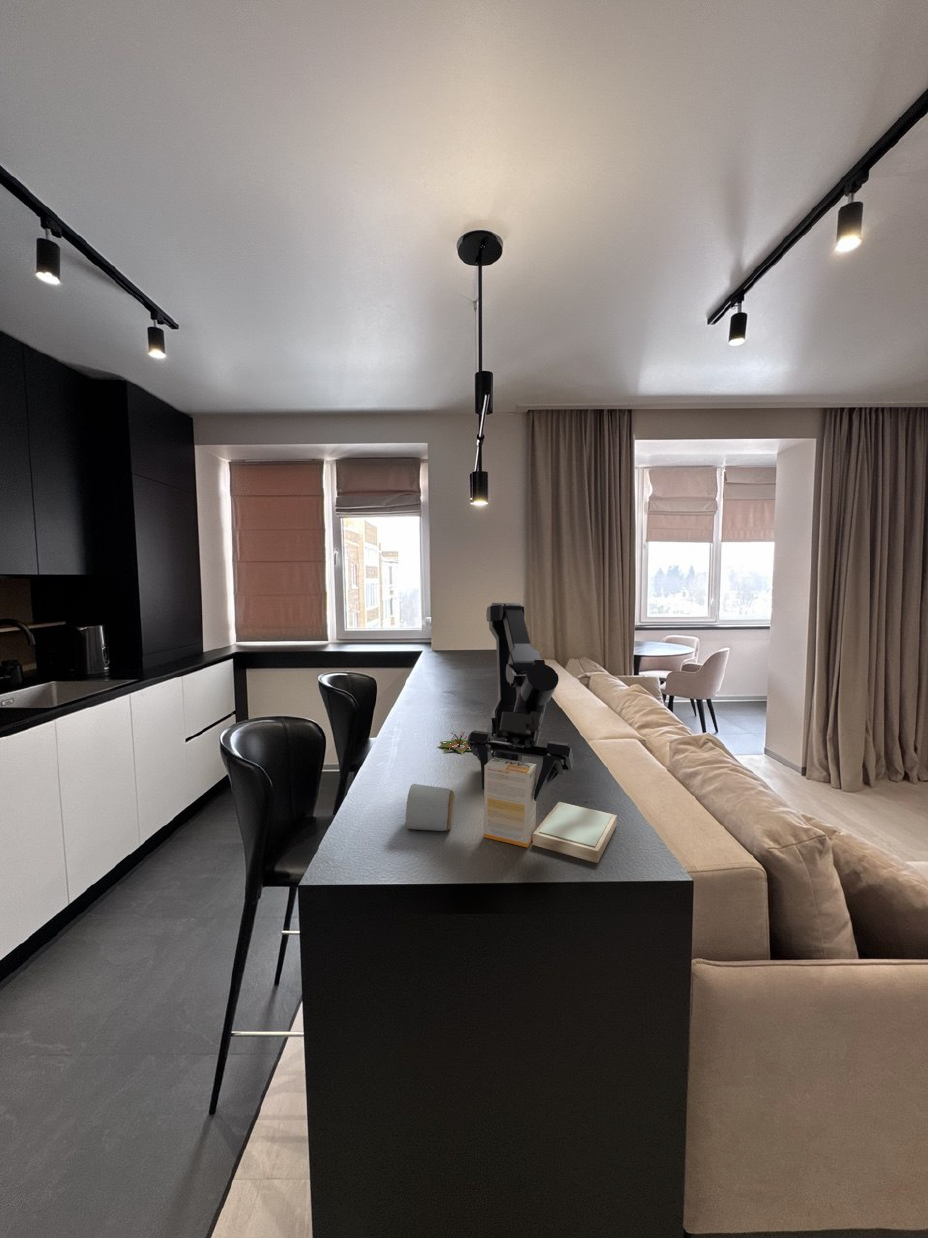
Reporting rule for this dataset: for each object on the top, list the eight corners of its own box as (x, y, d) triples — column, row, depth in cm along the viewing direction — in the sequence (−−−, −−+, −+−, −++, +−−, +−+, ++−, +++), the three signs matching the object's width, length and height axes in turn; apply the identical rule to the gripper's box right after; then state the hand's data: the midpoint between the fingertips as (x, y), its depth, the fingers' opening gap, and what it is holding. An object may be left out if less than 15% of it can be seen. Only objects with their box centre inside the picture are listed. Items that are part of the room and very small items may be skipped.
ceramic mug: (451, 839, 88) (452, 796, 88) (404, 837, 89) (405, 793, 88) (456, 812, 99) (457, 773, 98) (414, 810, 99) (414, 771, 99)
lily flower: (485, 755, 130) (485, 738, 130) (438, 757, 128) (438, 740, 128) (477, 740, 142) (477, 724, 141) (434, 742, 140) (434, 725, 140)
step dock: (532, 844, 87) (533, 832, 87) (558, 811, 99) (558, 800, 99) (597, 863, 82) (598, 850, 81) (616, 825, 94) (617, 814, 94)
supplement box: (536, 836, 90) (538, 763, 89) (527, 849, 85) (530, 773, 84) (492, 825, 93) (494, 755, 92) (482, 837, 89) (483, 764, 88)
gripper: (471, 687, 95) (446, 765, 85) (572, 698, 88) (557, 784, 78) (485, 718, 103) (463, 793, 93) (579, 730, 95) (565, 812, 86)
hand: (509, 795), depth 88 cm, fingers open, 9 cm apart
